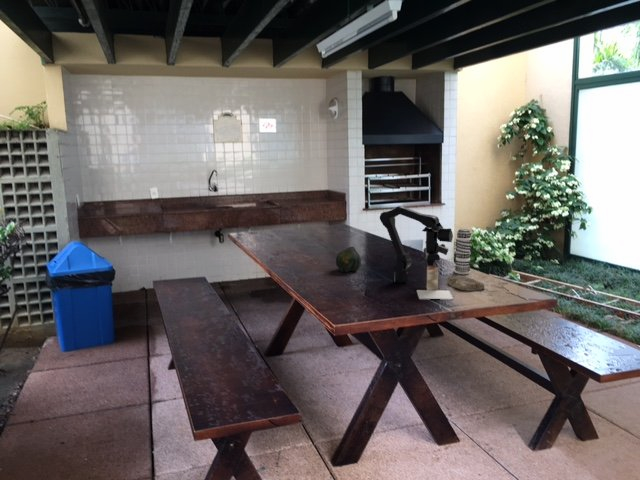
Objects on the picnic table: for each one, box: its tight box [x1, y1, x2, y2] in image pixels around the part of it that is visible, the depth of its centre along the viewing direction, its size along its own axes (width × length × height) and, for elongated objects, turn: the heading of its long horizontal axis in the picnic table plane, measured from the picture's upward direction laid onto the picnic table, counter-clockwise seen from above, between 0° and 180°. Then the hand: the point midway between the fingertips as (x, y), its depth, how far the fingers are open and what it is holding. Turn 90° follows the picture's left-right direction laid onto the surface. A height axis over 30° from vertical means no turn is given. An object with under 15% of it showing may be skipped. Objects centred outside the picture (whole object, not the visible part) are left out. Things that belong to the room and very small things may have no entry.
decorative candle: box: [454, 228, 473, 275], centre depth 303 cm, size 9×9×25 cm
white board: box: [416, 289, 454, 301], centre depth 259 cm, size 16×14×1 cm
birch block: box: [426, 265, 439, 290], centre depth 268 cm, size 5×5×12 cm
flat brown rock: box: [447, 274, 486, 292], centre depth 276 cm, size 14×5×20 cm
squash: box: [335, 246, 362, 273], centre depth 310 cm, size 14×15×15 cm
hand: (430, 269), depth 275 cm, fingers closed
